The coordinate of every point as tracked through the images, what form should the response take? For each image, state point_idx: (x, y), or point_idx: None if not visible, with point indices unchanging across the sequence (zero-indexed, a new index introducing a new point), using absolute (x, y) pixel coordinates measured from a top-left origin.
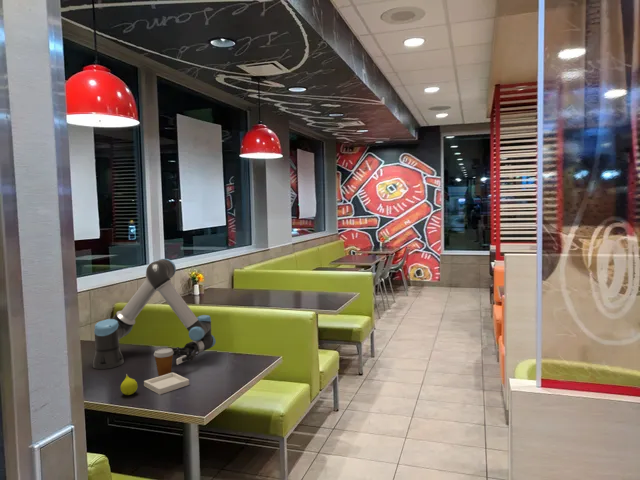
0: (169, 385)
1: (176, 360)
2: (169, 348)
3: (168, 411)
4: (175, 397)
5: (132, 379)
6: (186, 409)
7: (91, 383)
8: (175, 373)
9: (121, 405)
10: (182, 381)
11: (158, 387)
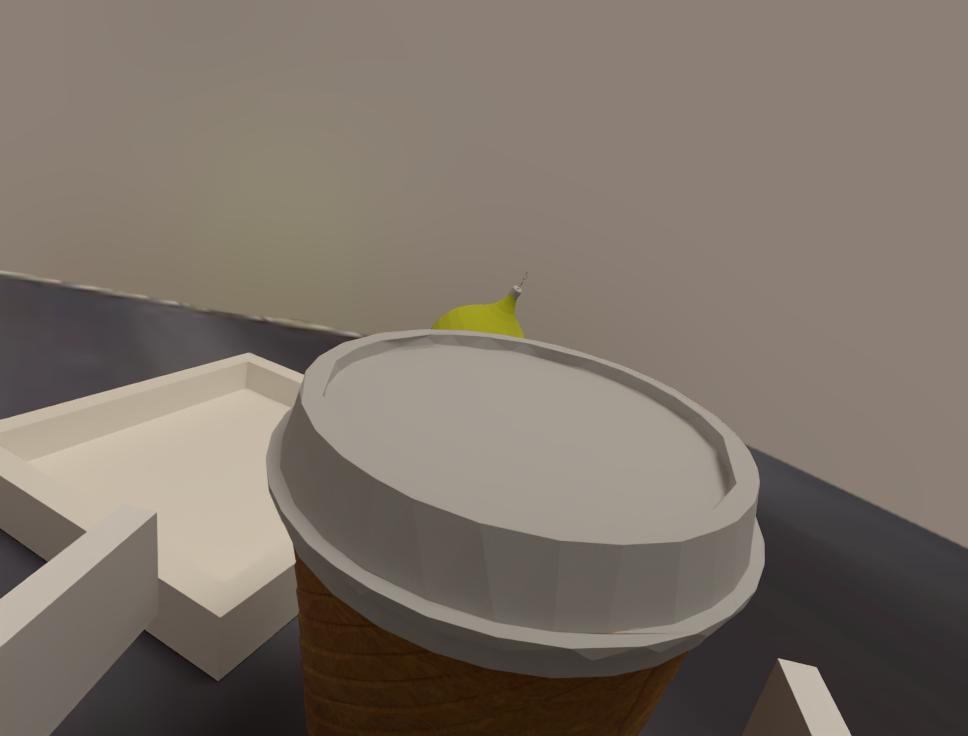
0: (177, 377)
1: (154, 539)
2: (501, 514)
3: (135, 297)
4: (109, 362)
5: (463, 312)
6: (26, 293)
7: (904, 524)
8: (162, 578)
9: None
10: (38, 412)
11: (266, 367)
